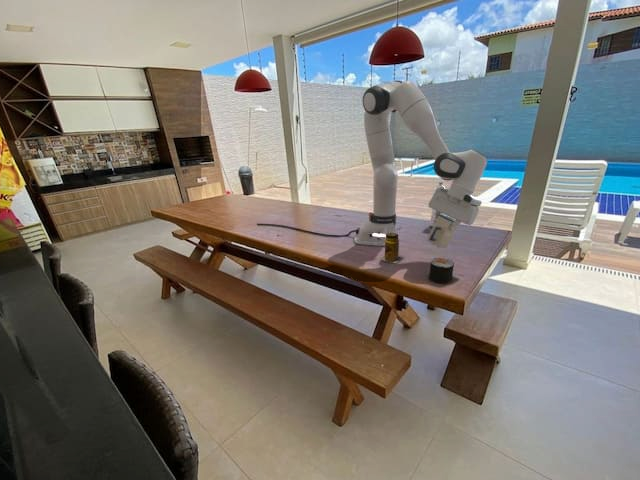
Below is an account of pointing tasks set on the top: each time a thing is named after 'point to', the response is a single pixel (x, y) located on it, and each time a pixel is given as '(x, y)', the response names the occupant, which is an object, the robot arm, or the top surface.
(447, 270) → the sushi
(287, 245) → the top surface
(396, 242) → the condiment
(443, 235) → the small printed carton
